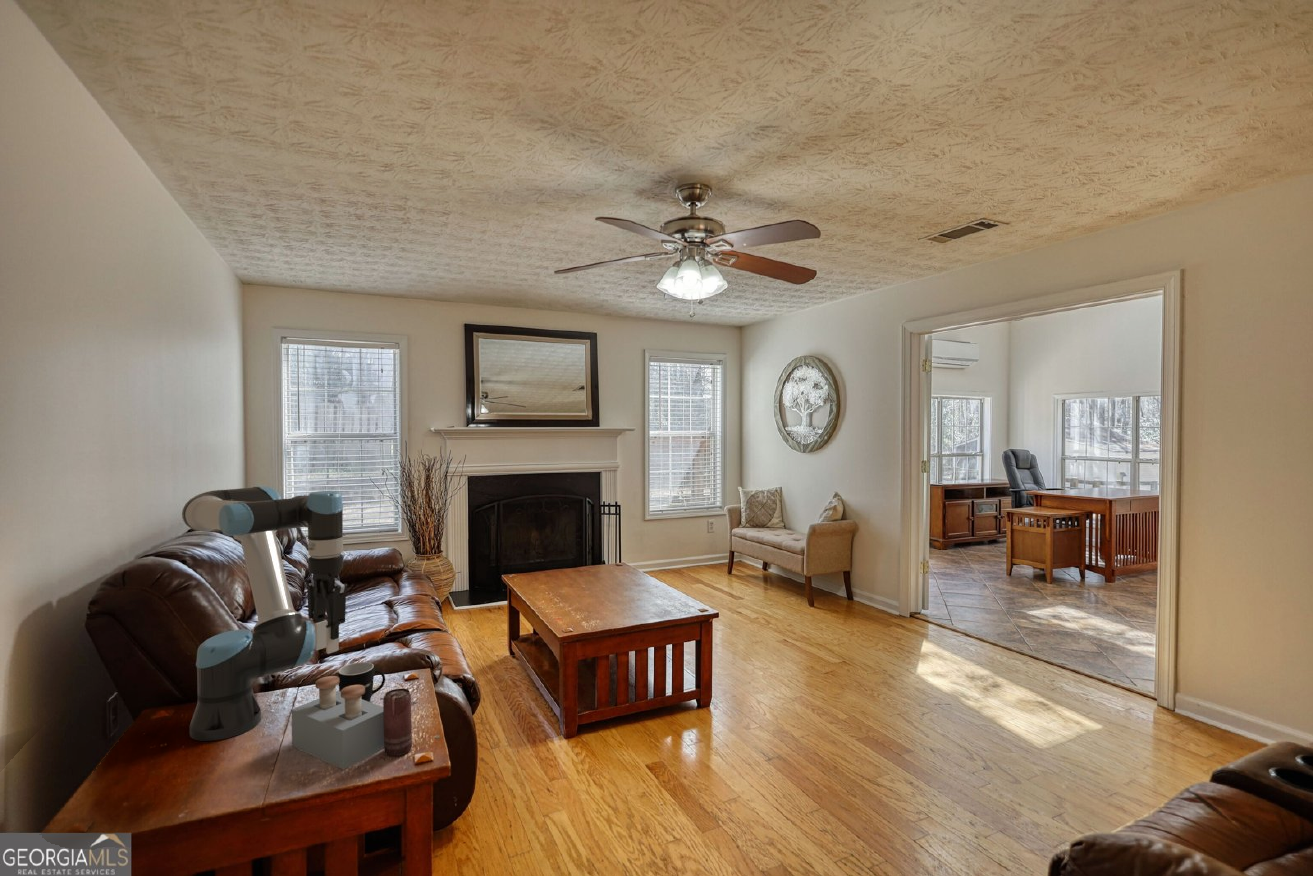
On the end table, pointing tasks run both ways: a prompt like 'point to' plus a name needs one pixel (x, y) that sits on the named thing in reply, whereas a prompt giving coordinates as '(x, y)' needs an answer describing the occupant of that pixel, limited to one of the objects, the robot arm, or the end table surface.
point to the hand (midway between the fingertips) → (327, 649)
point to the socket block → (338, 732)
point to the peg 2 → (353, 701)
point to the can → (397, 722)
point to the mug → (360, 677)
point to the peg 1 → (327, 691)
